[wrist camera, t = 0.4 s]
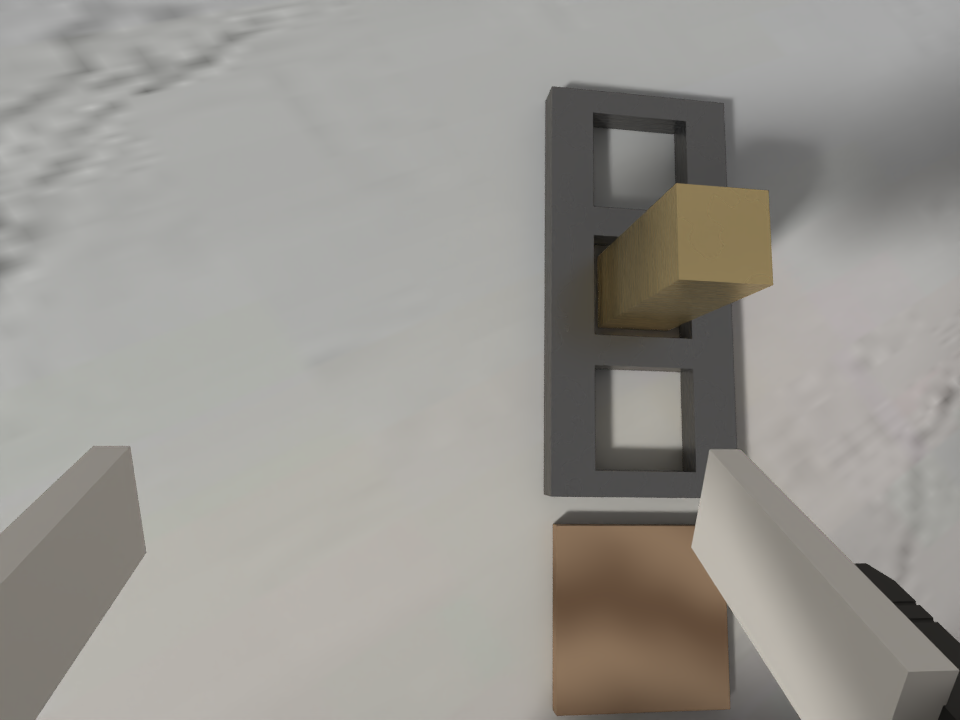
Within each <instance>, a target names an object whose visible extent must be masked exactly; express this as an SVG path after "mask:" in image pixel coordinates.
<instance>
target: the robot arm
mask: <svg viewBox="0 0 960 720" xmlns="http://www.w3.org/2000/svg"><path fill="white" fill-rule="evenodd" d="M691 548H692V549H693V551H694V553H695V554H696V556H697V557H698V559H699V560H700V562H701V563H702V565H703V567H704V568H705V570H706V571H707V573H708V574H709V576H710V578H711V579H712V581H713V582H714V584H715V585H716V587H717V589H718V590H719V592H720V593H721V595H722V596H723V598H724V600H725V601H726V603H727V604H728V606H729V607H730V609H731V610H732V612H733V614H734V615H735V617H736V618H737V620H738V621H739V623H740V625H741V626H742V628H743V629H744V631H745V632H746V634H747V636H748V637H749V639H750V640H751V642H752V643H753V645H754V647H755V648H756V650H757V651H758V653H759V654H760V656H761V657H762V659H763V661H764V662H765V664H766V665H767V667H768V668H769V670H770V672H771V673H772V675H773V676H774V678H775V679H776V681H777V683H778V684H779V686H780V687H781V689H782V690H783V692H784V693H785V695H786V697H787V698H788V700H789V701H790V703H791V704H792V706H793V708H794V709H795V711H796V712H797V714H798V715H799V717H800V719H801V720H960V643H959V642H958V641H957V640H956V639H955V638H954V637H953V636H952V635H950V634H949V633H948V632H947V631H946V630H945V629H944V628H943V627H942V626H941V625H940V624H939V623H938V622H934V621H933V617H932V616H931V615H930V614H929V613H928V612H926V611H925V610H924V609H923V608H922V607H921V606H920V605H916V601H915V600H914V599H913V598H912V597H911V596H910V595H909V594H908V593H907V592H906V591H905V590H904V589H903V588H901V587H900V586H899V585H898V584H897V583H896V582H895V581H894V580H892V579H891V578H889V577H887V576H886V575H884V574H883V573H881V572H879V571H878V570H876V569H874V568H873V567H871V566H870V565H868V564H866V563H861V564H854V563H853V562H852V561H851V560H850V559H849V558H848V557H847V556H846V555H845V554H844V553H843V552H842V551H841V550H840V549H839V548H838V547H837V546H836V545H835V544H834V543H833V542H832V541H831V540H830V539H829V538H828V537H827V536H826V535H825V534H824V533H823V532H822V531H821V530H820V529H819V528H818V527H817V526H816V525H815V524H814V523H813V522H812V521H811V520H810V519H809V518H808V517H807V516H806V515H805V514H804V513H803V512H802V511H801V510H800V509H799V508H798V507H797V506H796V505H795V504H794V503H793V502H792V501H791V500H790V499H789V498H788V497H787V496H786V495H785V494H784V493H783V492H782V491H781V490H780V489H779V488H778V487H777V486H776V485H775V484H774V483H773V482H772V481H771V480H770V479H769V478H768V477H767V476H766V475H765V474H764V473H763V471H762V470H761V469H760V468H759V467H758V466H757V465H756V464H755V463H754V462H753V461H752V460H751V459H750V458H749V457H748V456H747V455H746V454H745V453H744V452H743V451H742V450H741V449H710V450H709V455H708V460H707V466H706V471H705V476H704V482H703V487H702V493H701V498H700V503H699V509H698V514H697V519H696V525H695V530H694V535H693V541H692V546H691ZM145 554H146V548H145V541H144V534H143V528H142V521H141V514H140V508H139V501H138V495H137V488H136V481H135V475H134V468H133V461H132V455H131V448H130V446H93V447H92V448H91V449H90V450H89V451H87V452H86V453H85V454H84V455H83V456H82V457H81V458H80V459H79V460H78V461H77V462H76V463H75V464H74V465H73V466H72V467H71V468H70V469H68V470H67V471H66V472H65V473H64V474H63V475H62V476H61V477H60V478H59V479H58V480H57V481H56V482H55V483H54V484H53V485H52V486H51V487H49V488H48V489H47V490H46V491H45V492H44V493H43V494H42V495H41V496H40V497H39V498H38V499H37V500H36V501H35V502H34V503H33V504H31V505H30V506H29V507H28V508H27V509H26V510H25V511H24V512H23V513H22V514H21V515H20V516H19V517H18V518H17V519H16V520H15V521H14V522H12V523H11V524H10V525H9V526H8V527H7V528H6V529H5V530H4V531H3V532H2V533H1V534H0V720H35V719H36V718H37V716H38V715H39V713H40V712H41V710H42V709H43V707H44V706H45V704H46V703H47V701H48V700H49V698H50V697H51V695H52V694H53V692H54V691H55V689H56V688H57V686H58V685H59V683H60V682H61V680H62V679H63V677H64V676H65V674H66V673H67V671H68V670H69V668H70V667H71V665H72V664H73V662H74V661H75V659H76V658H77V656H78V655H79V653H80V652H81V650H82V649H83V647H84V646H85V644H86V643H87V641H88V640H89V638H90V637H91V635H92V633H93V632H94V630H95V629H96V627H97V626H98V624H99V623H100V621H101V620H102V618H103V617H104V615H105V614H106V612H107V611H108V609H109V608H110V606H111V605H112V603H113V602H114V600H115V599H116V597H117V596H118V594H119V593H120V591H121V590H122V588H123V587H124V585H125V584H126V582H127V581H128V579H129V578H130V576H131V575H132V573H133V572H134V570H135V569H136V567H137V566H138V564H139V563H140V561H141V560H142V558H143V557H144V555H145Z"/></svg>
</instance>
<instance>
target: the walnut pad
mask: <svg viewBox="0 0 960 720" xmlns="http://www.w3.org/2000/svg"><path fill="white" fill-rule="evenodd" d="M694 530H695V525H676V524H553V711H554V712H555V714H556V715H557V716H565V715H592V714H618V713H645V712H672V711H698V710H725V709H730V687H729V658H728V630H727V603H726V601H725V600H724V598H723V596H722V595H721V593H720V592H719V590H718V589H717V587H716V585H715V584H714V582H713V581H712V579H711V578H710V576H709V574H708V573H707V571H706V570H705V568H704V567H703V565H702V563H701V562H700V560H699V559H698V557H697V556H696V554H695V553H694V551H693V549H692V548H691V546H692V541H693V535H694Z"/></svg>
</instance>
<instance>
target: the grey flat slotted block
mask: <svg viewBox="0 0 960 720" xmlns="http://www.w3.org/2000/svg"><path fill="white" fill-rule="evenodd" d="M593 127H601V128H612V129H623V130H634V131H645V132H656V133H667V134H674V143H675V181H676V183H681V184H693V185H706V186H718V187H727V177H726V151H725V125H724V103H716V102H705V101H695V100H685V99H675V98H665V97H654V96H644V95H634V94H624V93H614V92H604V91H593V90H583V89H573V88H563V87H553V86H552V88H551V90H550V92H549V95H548V97H547V99H546V115H545V340H544V495H548V496H553V497H656V498H701V493H702V487H703V482H704V476H705V471H706V466H707V460H708V455H709V450H710V449H737V438H736V412H735V386H734V360H733V334H732V308H731V303H730V304H728V305H726V306H723V307H721V308H719V309H716V310H714V311H712V312H709V313H707V314H705V315H703V316H700V317H698V318H696V319H693V320H691V321H689V322H686V323H684V324H682V325H679V332H680V338H660V337H638V336H616V335H594V244H595V245H611V244H612V243H613V242H614V241H615V240H616V239H617V238H618V237H619V236H620V235H621V234H622V233H624V232H625V231H626V230H627V229H628V228H629V227H630V226H631V225H632V224H633V223H634V222H635V221H636V220H637V219H639V218H640V217H641V216H642V215H643V214H644V213H645V212H646V211H647V210H637V209H623V208H610V207H596V206H594V202H593ZM595 369H611V370H637V371H664V372H681V408H682V446H683V471H630V470H595Z"/></svg>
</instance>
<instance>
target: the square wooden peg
mask: <svg viewBox="0 0 960 720" xmlns="http://www.w3.org/2000/svg"><path fill="white" fill-rule="evenodd" d="M597 278H598V328H619V329H641V330H662V331H668V330H670V329H672V328H675V327H677V326H679V325H682V324H684V323H686V322H689V321H691V320H693V319H696V318H698V317H700V316H703V315H705V314H707V313H709V312H712V311H714V310H716V309H719V308H721V307H723V306H726V305H728V304H730V303H733V302H735V301H737V300H739V299H742V298H744V297H746V296H749V295H751V294H753V293H756V292H758V291H760V290H763V289H765V288H767V287H770V286H772V285H773V273H772V252H771V232H770V211H769V191H768V190H756V189H743V188H731V187H718V186H706V185H693V184H681V183H676V184H675V185H674V186H673V187H672V188H671V189H670V190H669V191H667V192H666V193H665V194H664V195H663V196H662V197H661V198H660V199H659V200H658V201H657V202H656V203H655V204H654V205H652V206H651V207H650V208H649V209H648V210H647V211H646V212H645V213H644V214H643V215H642V216H641V217H640V218H639V219H637V220H636V221H635V222H634V223H633V224H632V225H631V226H630V227H629V228H628V229H627V230H626V231H625V232H624V233H622V234H621V235H620V236H619V237H618V238H617V239H616V240H615V241H614V242H613V243H612V244H611V245H610V246H609V247H607V248H606V249H605V250H604V251H603V252H602V253H601V254H600V255H599V256H598V257H597Z"/></svg>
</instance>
